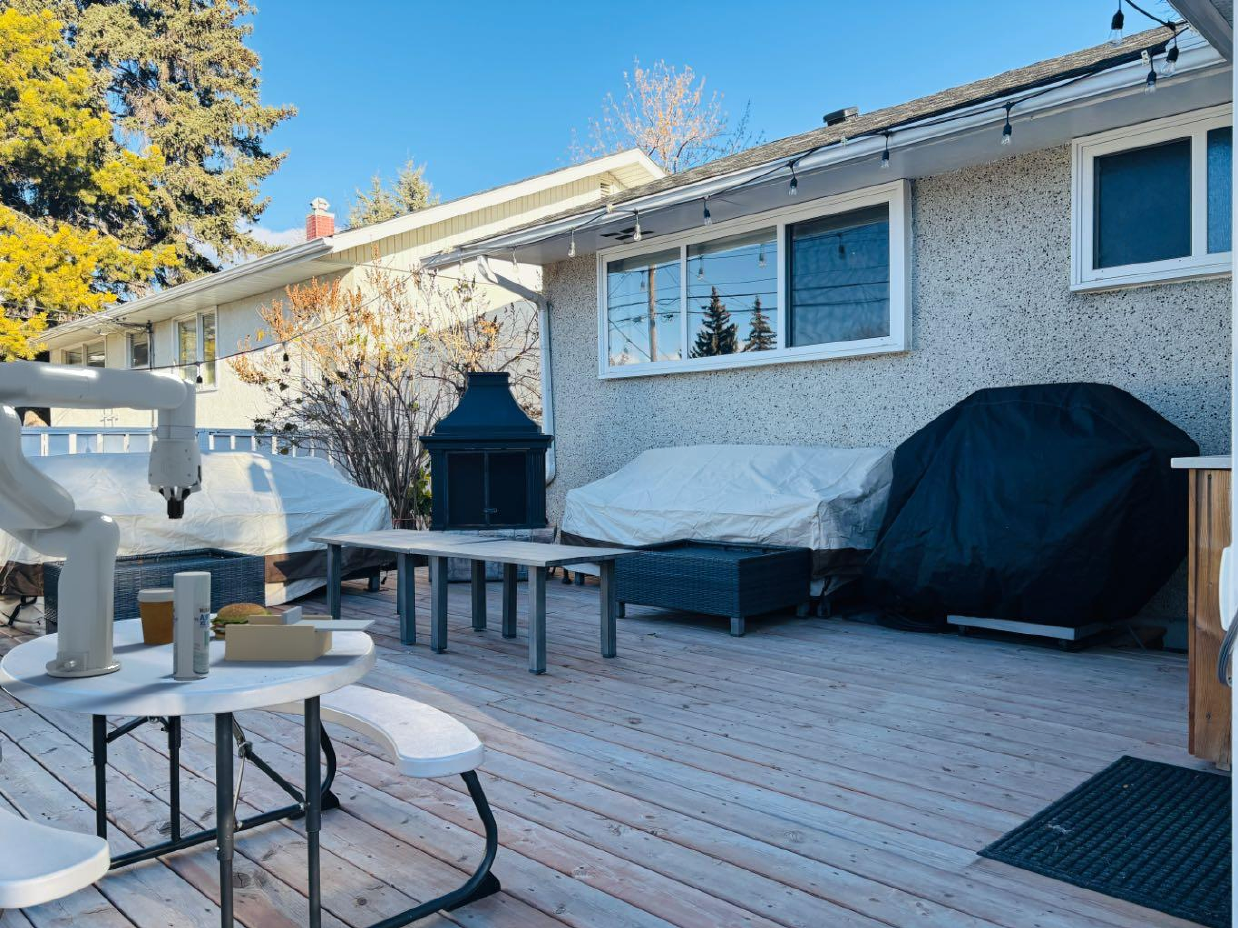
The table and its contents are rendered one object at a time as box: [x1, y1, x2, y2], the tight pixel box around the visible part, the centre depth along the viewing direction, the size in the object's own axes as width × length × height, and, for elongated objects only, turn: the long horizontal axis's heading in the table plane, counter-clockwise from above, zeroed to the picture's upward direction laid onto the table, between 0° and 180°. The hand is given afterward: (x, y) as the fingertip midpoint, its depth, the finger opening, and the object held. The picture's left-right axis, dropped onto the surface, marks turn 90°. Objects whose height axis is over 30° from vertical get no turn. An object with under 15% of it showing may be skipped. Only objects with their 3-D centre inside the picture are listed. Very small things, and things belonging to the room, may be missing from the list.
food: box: [210, 602, 275, 640], centre depth 219 cm, size 14×14×8 cm
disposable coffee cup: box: [136, 587, 174, 646], centre depth 210 cm, size 10×10×12 cm
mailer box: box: [224, 614, 333, 662], centre depth 194 cm, size 13×18×8 cm
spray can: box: [172, 571, 212, 682], centre depth 176 cm, size 6×6×20 cm
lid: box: [281, 605, 376, 632], centre depth 195 cm, size 11×18×4 cm, turn 91°
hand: (175, 518), depth 201 cm, fingers closed
